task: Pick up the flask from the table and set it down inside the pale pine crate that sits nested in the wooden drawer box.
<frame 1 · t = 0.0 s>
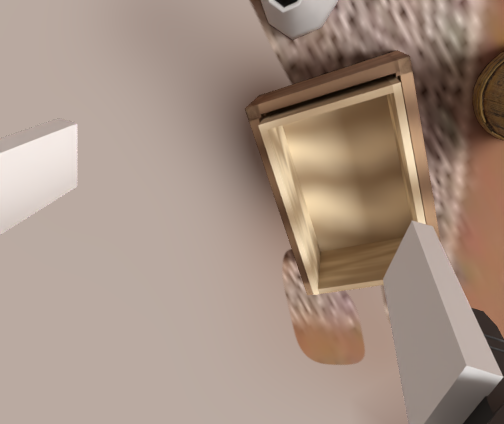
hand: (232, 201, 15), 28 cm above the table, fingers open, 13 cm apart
wooden drawer box: (348, 170, 42), on the table
pine crate: (349, 187, 37), in the wooden drawer box, point 5 cm above the table
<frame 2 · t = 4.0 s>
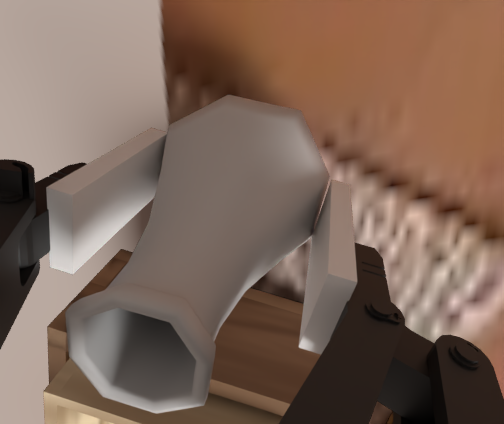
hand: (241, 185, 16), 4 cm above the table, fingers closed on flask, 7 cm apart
wooden drawer box: (201, 392, 28), on the table
flask: (245, 177, 17), point 3 cm above the table, touching gripper
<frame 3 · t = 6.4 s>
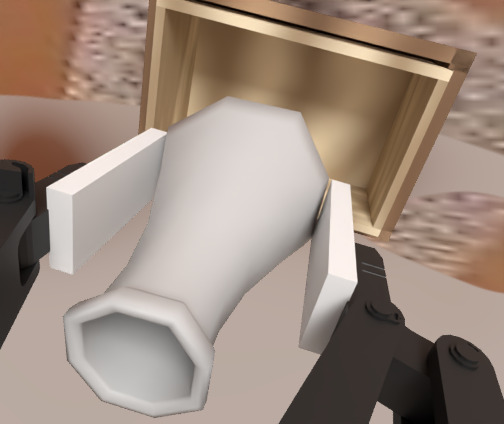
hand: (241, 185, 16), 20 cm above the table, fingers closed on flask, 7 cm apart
wooden drawer box: (291, 101, 33), on the table
pine crate: (284, 113, 29), in the wooden drawer box, point 5 cm above the table
flask: (244, 179, 17), point 19 cm above the table, touching gripper
when the fingers open (3 cm above the table, at t = 9.1 s): flask drops 1 cm, resting on pine crate.
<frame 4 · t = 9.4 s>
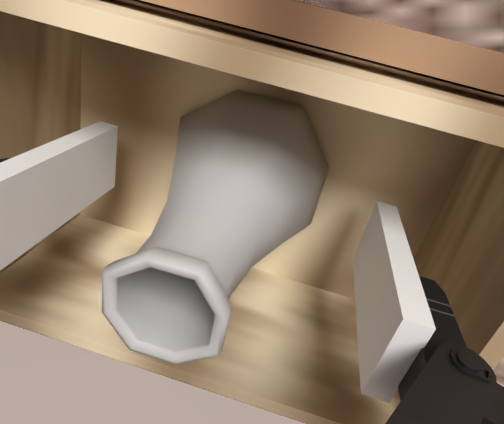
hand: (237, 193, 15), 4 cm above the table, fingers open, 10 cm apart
wooden drawer box: (257, 159, 19), on the table
pine crate: (233, 199, 15), in the wooden drawer box, point 5 cm above the table
flask: (250, 168, 18), point 2 cm above the table, touching pine crate
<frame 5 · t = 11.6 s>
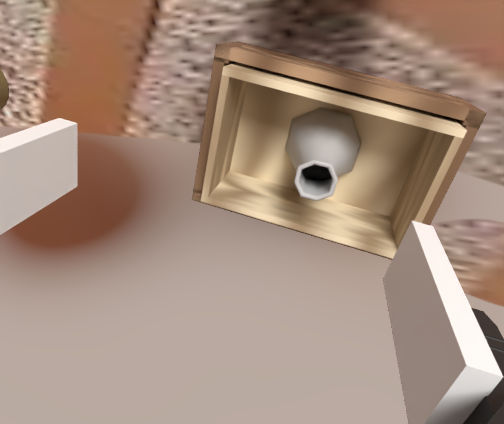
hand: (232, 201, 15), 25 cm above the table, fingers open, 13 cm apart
wooden drawer box: (323, 140, 38), on the table
pine crate: (321, 155, 34), in the wooden drawer box, point 5 cm above the table
flask: (322, 144, 37), point 2 cm above the table, touching pine crate
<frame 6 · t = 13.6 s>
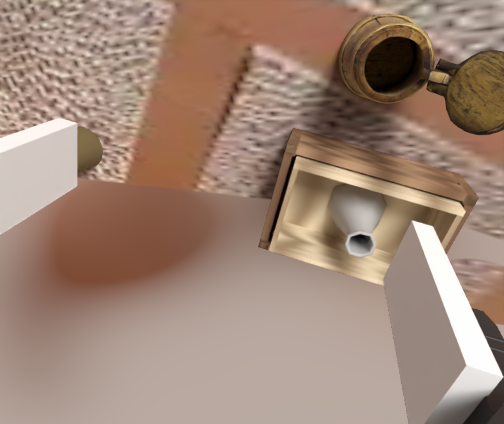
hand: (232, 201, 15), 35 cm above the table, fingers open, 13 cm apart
wooden drawer box: (355, 199, 50), on the table
cork: (84, 146, 55), on the table
pine crate: (357, 216, 46), in the wooden drawer box, point 5 cm above the table
flask: (356, 204, 49), point 2 cm above the table, touching pine crate
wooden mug: (399, 62, 42), on the table
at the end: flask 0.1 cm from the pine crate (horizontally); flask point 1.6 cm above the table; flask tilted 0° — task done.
